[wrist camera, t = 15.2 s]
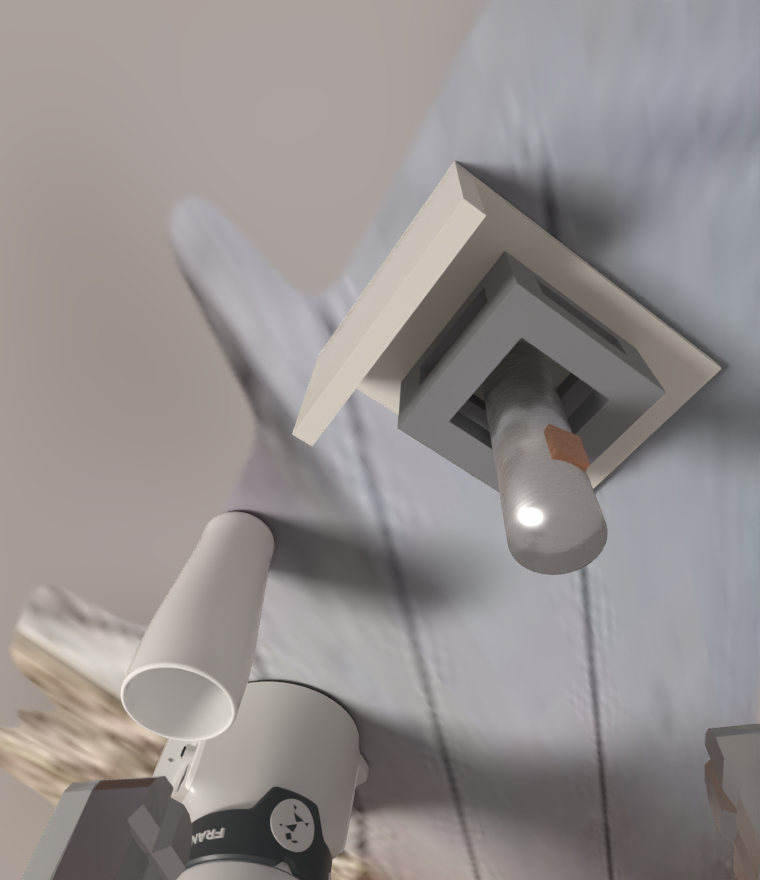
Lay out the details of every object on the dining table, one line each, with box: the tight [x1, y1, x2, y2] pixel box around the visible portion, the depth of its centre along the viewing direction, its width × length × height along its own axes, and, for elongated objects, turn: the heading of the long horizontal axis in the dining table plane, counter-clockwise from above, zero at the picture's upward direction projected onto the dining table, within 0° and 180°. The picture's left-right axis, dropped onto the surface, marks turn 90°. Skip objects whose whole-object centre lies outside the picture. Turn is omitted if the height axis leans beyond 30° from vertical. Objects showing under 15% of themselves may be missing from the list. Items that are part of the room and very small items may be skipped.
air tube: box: [482, 341, 607, 575], centre depth 34 cm, size 4×4×16 cm
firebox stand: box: [292, 161, 721, 492], centre depth 38 cm, size 14×20×10 cm
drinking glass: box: [120, 512, 274, 742], centre depth 44 cm, size 7×7×15 cm
